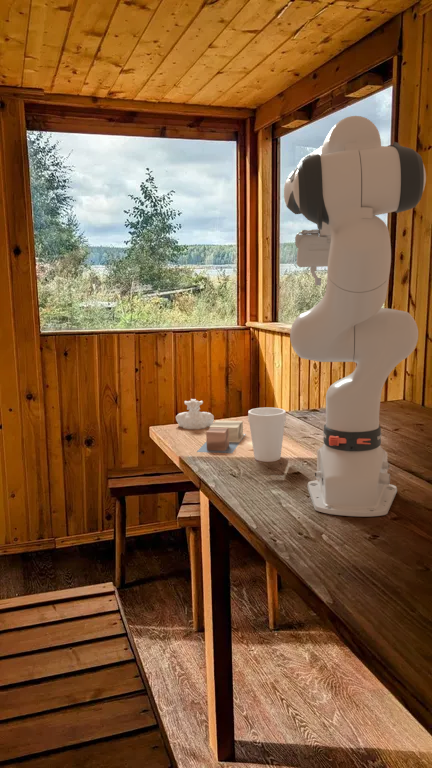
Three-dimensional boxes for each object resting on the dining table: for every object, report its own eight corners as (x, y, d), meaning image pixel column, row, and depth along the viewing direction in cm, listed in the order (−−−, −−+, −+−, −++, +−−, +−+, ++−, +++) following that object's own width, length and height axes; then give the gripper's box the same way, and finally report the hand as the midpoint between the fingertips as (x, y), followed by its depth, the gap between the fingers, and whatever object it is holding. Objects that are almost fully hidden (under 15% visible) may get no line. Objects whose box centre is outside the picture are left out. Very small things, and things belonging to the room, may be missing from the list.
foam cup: (259, 454, 159) (258, 406, 156) (292, 458, 154) (291, 409, 152) (242, 464, 151) (241, 413, 148) (276, 469, 146) (275, 416, 144)
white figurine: (176, 437, 187) (171, 414, 179) (178, 418, 192) (173, 395, 184) (214, 437, 186) (211, 414, 178) (215, 418, 191) (212, 394, 183)
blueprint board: (232, 457, 157) (232, 453, 157) (196, 455, 159) (196, 451, 159) (246, 437, 176) (246, 433, 176) (214, 436, 178) (214, 432, 178)
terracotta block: (225, 450, 159) (224, 432, 158) (206, 450, 160) (206, 432, 159) (229, 445, 164) (228, 428, 163) (211, 445, 165) (210, 427, 164)
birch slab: (237, 441, 168) (237, 427, 167) (209, 440, 170) (209, 426, 169) (243, 434, 176) (242, 421, 175) (216, 433, 177) (216, 420, 177)
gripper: (295, 229, 148) (296, 285, 150) (380, 226, 146) (379, 283, 149) (294, 231, 154) (294, 285, 157) (375, 228, 152) (374, 283, 155)
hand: (336, 284), depth 153 cm, fingers open, 8 cm apart
